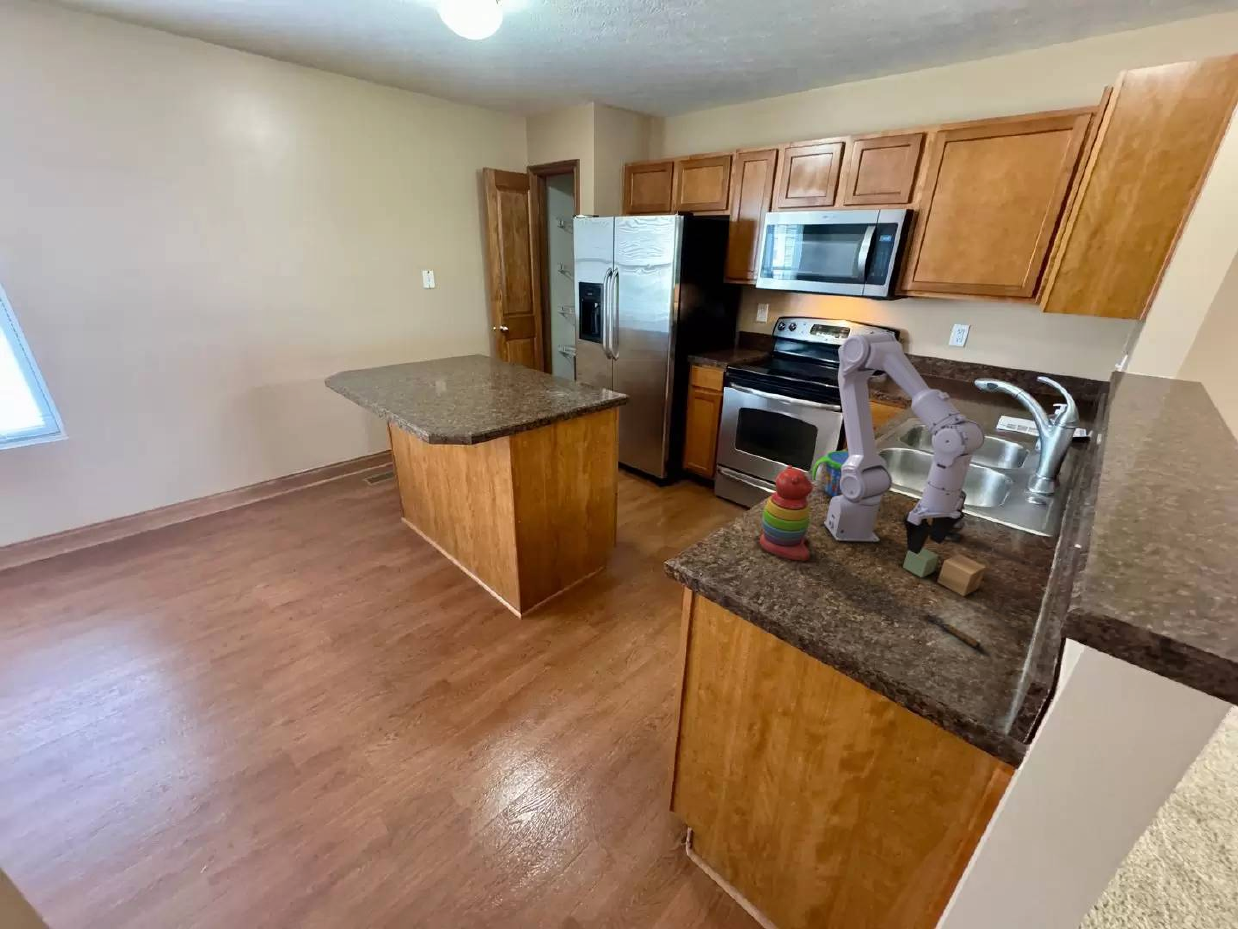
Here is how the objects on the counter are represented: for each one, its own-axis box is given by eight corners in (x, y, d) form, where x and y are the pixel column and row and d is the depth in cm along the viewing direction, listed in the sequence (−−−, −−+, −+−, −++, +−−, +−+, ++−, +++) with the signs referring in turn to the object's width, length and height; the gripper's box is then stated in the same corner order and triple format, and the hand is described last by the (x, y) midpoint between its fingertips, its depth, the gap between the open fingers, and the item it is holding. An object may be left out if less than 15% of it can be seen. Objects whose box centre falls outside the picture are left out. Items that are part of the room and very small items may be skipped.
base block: (963, 596, 96) (971, 574, 94) (937, 582, 100) (944, 560, 98) (977, 588, 98) (986, 566, 96) (951, 574, 102) (958, 553, 100)
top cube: (921, 577, 101) (927, 560, 99) (902, 567, 104) (907, 550, 102) (933, 572, 103) (939, 555, 101) (914, 562, 106) (919, 545, 104)
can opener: (979, 647, 83) (981, 642, 83) (970, 651, 82) (972, 646, 82) (930, 613, 91) (931, 608, 90) (920, 616, 90) (922, 611, 90)
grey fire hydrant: (959, 544, 112) (975, 495, 108) (929, 535, 116) (943, 487, 111) (962, 533, 117) (978, 486, 112) (933, 525, 120) (947, 478, 115)
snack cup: (869, 489, 137) (878, 454, 132) (876, 507, 127) (885, 470, 123) (808, 481, 140) (814, 447, 136) (809, 498, 131) (817, 462, 127)
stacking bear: (810, 562, 105) (826, 484, 97) (759, 556, 106) (771, 478, 99) (804, 535, 114) (818, 462, 107) (757, 530, 116) (768, 457, 109)
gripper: (943, 502, 89) (922, 567, 95) (987, 485, 96) (965, 546, 101) (905, 486, 95) (887, 548, 100) (949, 471, 101) (930, 530, 107)
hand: (924, 546), depth 101 cm, fingers open, 7 cm apart
